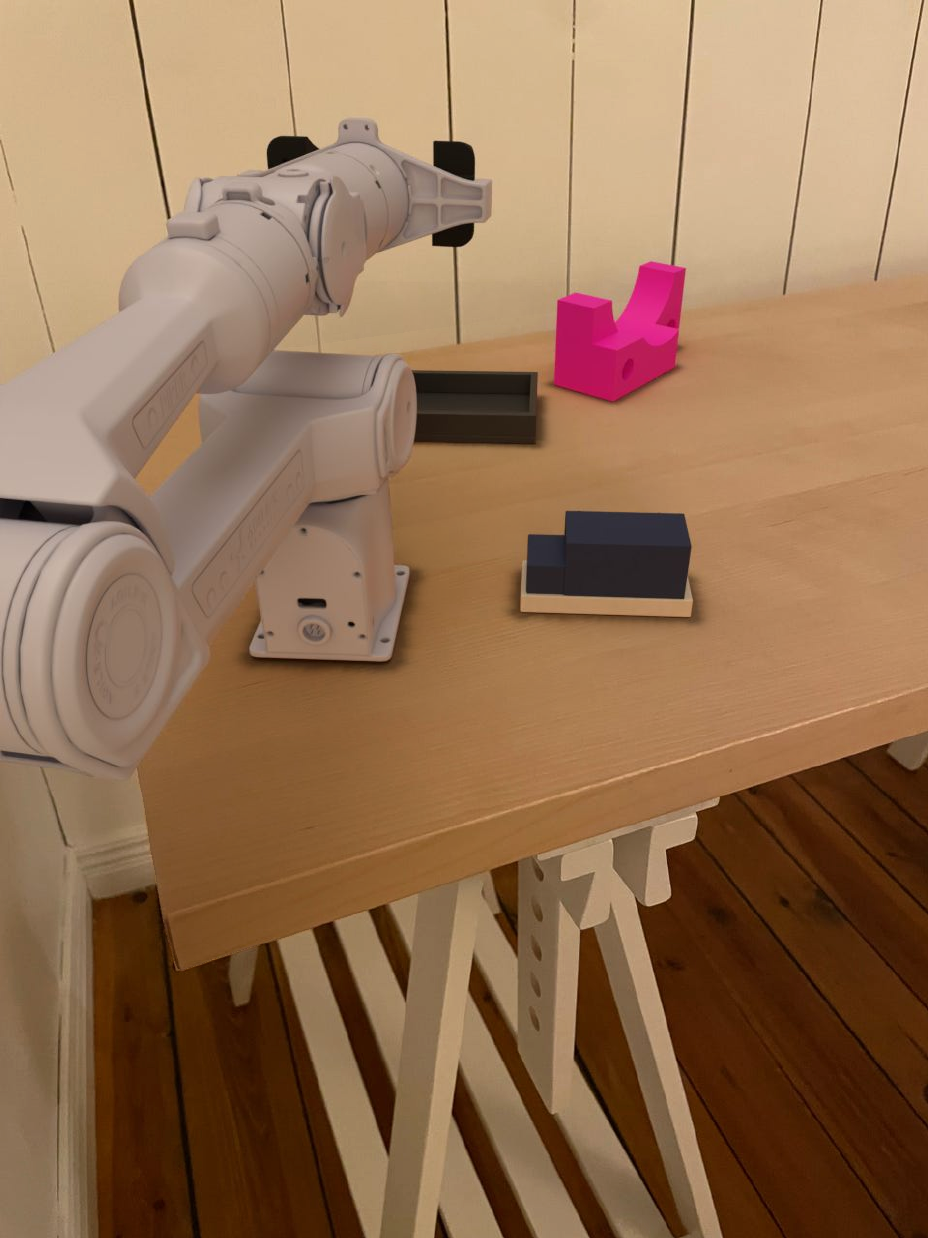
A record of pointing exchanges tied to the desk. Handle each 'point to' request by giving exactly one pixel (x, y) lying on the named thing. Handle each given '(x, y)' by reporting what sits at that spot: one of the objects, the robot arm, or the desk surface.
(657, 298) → the toy block
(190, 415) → the desk surface
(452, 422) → the tray
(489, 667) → the desk surface
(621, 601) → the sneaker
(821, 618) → the desk surface
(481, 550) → the desk surface
